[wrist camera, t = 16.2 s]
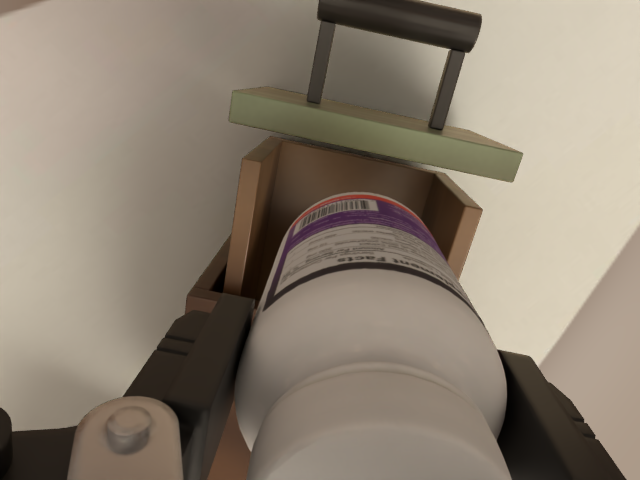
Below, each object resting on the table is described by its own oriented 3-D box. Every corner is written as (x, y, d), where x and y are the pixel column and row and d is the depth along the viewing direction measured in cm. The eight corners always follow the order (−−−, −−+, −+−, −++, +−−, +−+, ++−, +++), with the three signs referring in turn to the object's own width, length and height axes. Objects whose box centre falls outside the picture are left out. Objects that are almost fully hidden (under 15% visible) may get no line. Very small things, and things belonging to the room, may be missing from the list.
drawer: (280, -12, 23) (250, -54, 15) (499, 37, 23) (573, 18, 16) (232, 303, 29) (194, 380, 22) (405, 338, 29) (425, 426, 22)
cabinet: (237, 224, 28) (186, 294, 19) (433, 265, 28) (475, 354, 19) (209, 409, 33) (159, 533, 24) (377, 442, 33) (389, 578, 24)
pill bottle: (390, 355, 17) (448, 702, 7) (255, 297, 16) (137, 594, 7) (468, 229, 15) (673, 481, 6) (319, 159, 14) (275, 310, 5)
